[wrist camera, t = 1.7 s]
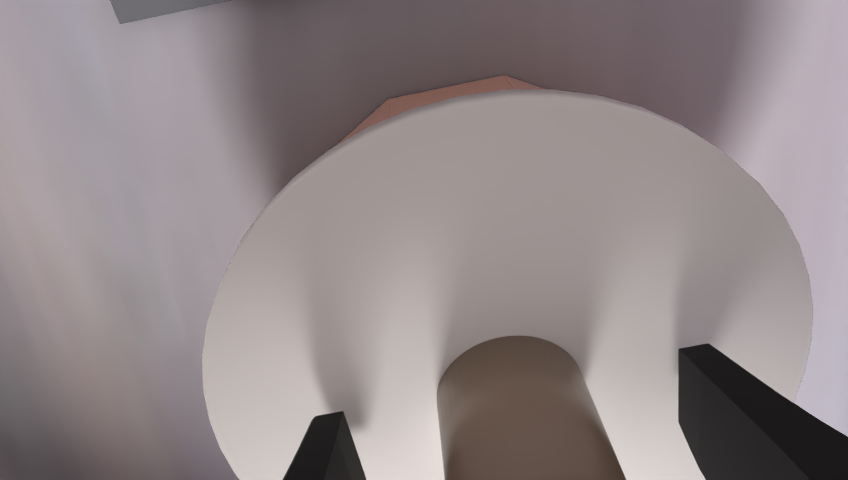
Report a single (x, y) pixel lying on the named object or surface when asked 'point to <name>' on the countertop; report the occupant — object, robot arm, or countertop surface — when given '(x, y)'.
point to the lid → (502, 294)
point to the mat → (154, 8)
